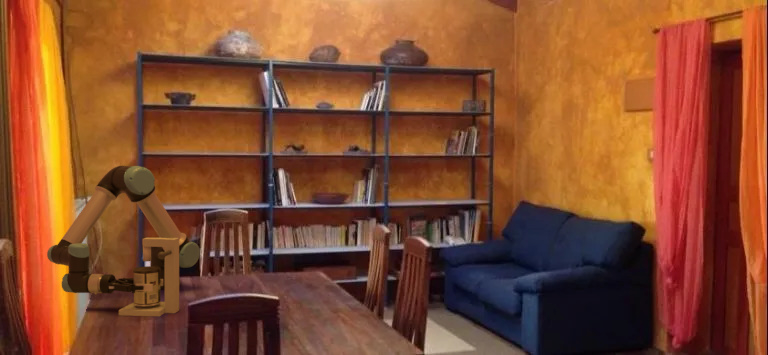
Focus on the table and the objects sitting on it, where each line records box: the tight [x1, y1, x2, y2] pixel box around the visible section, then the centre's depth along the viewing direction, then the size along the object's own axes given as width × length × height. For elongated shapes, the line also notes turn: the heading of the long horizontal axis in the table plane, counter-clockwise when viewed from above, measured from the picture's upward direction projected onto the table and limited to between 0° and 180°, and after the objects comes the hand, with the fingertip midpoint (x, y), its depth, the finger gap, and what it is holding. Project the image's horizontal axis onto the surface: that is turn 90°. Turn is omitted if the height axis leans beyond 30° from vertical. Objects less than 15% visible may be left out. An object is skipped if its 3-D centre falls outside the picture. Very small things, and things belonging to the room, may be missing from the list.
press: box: [118, 237, 180, 317], centre depth 274 cm, size 20×20×29 cm
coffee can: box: [132, 265, 162, 306], centre depth 276 cm, size 10×10×14 cm
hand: (157, 285), depth 276 cm, fingers closed on coffee can, 10 cm apart
